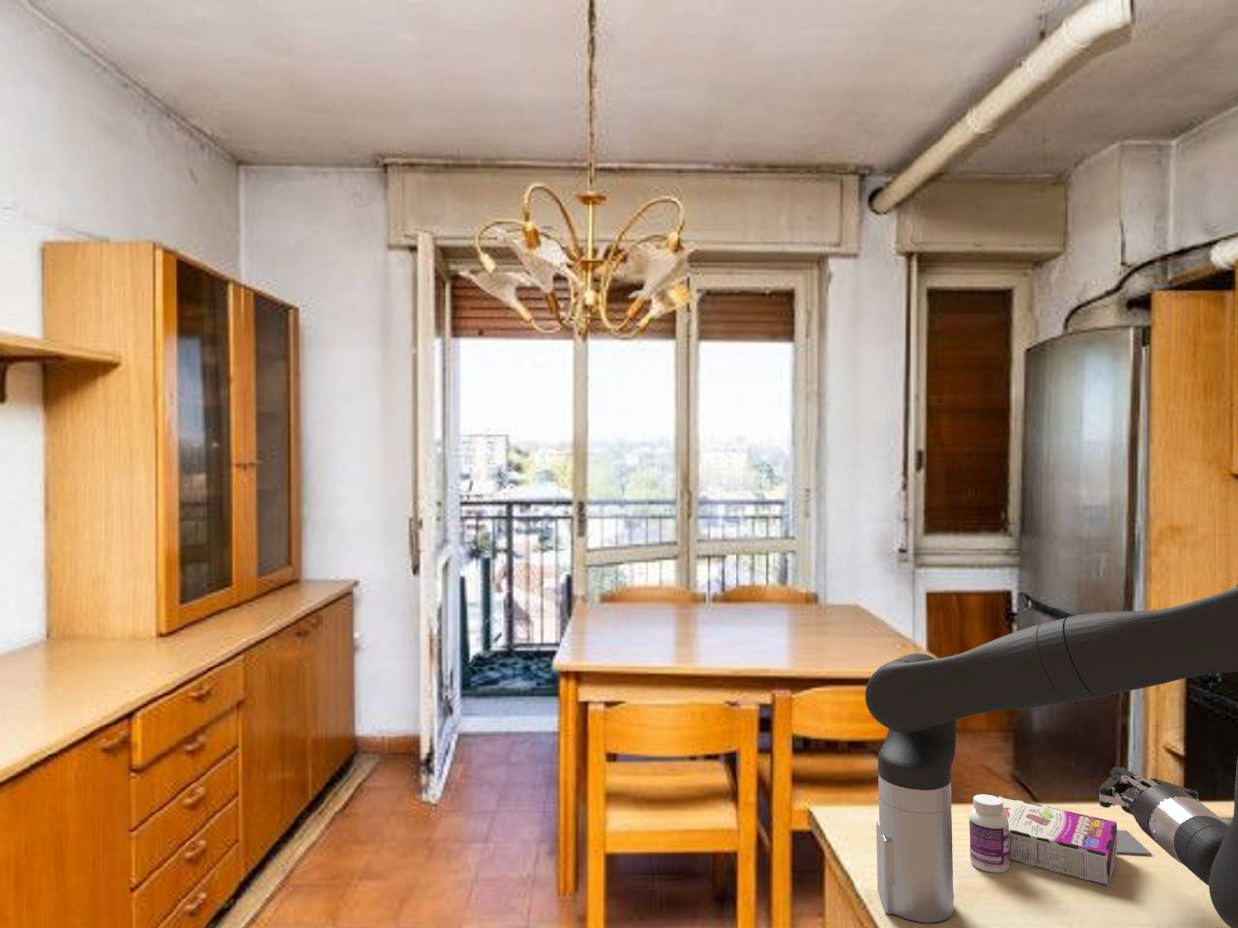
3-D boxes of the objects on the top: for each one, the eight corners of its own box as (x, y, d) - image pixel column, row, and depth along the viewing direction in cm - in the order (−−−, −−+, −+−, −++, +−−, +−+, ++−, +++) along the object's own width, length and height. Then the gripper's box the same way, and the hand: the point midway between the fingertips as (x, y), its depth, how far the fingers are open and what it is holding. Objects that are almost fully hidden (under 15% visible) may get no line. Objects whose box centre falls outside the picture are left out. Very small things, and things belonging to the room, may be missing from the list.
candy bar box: (1118, 853, 117) (999, 823, 127) (1118, 821, 117) (999, 793, 127) (1109, 889, 108) (982, 854, 119) (1109, 854, 108) (982, 821, 118)
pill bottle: (1014, 875, 112) (1012, 808, 112) (975, 872, 113) (973, 805, 113) (1003, 857, 117) (1002, 792, 117) (966, 854, 118) (964, 790, 118)
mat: (1072, 851, 119) (1072, 849, 119) (1052, 828, 126) (1052, 826, 126) (1151, 855, 117) (1151, 853, 117) (1126, 832, 124) (1126, 830, 124)
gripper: (1241, 799, 97) (1165, 749, 114) (1126, 795, 99) (1069, 746, 116) (1242, 860, 97) (1167, 801, 114) (1127, 854, 99) (1070, 797, 116)
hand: (1117, 773), depth 115 cm, fingers closed
